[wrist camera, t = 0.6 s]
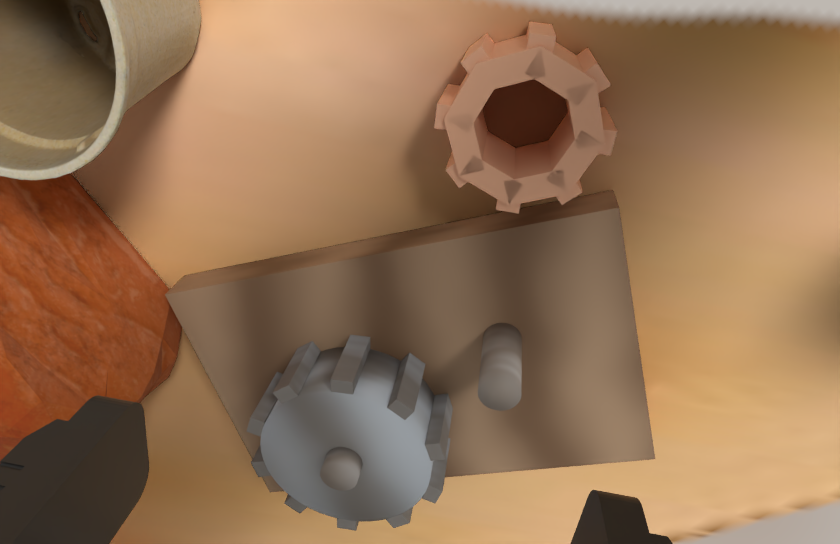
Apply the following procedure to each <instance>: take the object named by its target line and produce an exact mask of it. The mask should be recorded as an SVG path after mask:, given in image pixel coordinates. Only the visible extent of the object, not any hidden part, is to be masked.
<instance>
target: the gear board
mask: <svg viewBox="0 0 840 544" xmlns="http://www.w3.org/2000/svg"><path fill="white" fill-rule="evenodd" d="M165 296H166V298H167V300H168V302H169V303H170V305H171V307H172V309H173V311H174V313H175V315H176V317H177V318H178V320H179V322H180V324H181V326H182V328H183V330H184V332H185V333H186V335H187V337H188V339H189V341H190V343H191V345H192V347H193V349H194V350H195V352H196V354H197V356H198V358H199V360H200V362H201V364H202V365H203V367H204V369H205V371H206V373H207V375H208V377H209V379H210V380H211V382H212V384H213V386H214V388H215V390H216V392H217V394H218V395H219V397H220V399H221V401H222V403H223V405H224V407H225V409H226V410H227V412H228V414H229V416H230V418H231V420H232V422H233V424H234V426H235V427H236V429H237V431H238V433H239V435H240V437H241V439H242V441H243V442H244V444H245V446H246V448H247V450H248V452H249V454H250V456H251V457H252V461H251V464H252V466H253V468H254V469H255V471H256V473H257V475H258V477H262V478H263V480H264V482H265V484H266V486H267V487H268V489H269V491H270V492H278V491H285V492H286V493H288V496H287V498H286V500H285V503H284V504H286V505H288V506H289V507H291V508H292V509H294V510H295V511H297V512H298V513H301V512H302V511H303V510H305V509H306V508H307V507H309V508H310V509H313V510H315V511H317V512H319V513H322V514H325V515H328V516H331V517H335V518H337V528H343V529H349V530H356V529H357V526H358V522H359V521H376V520H383V519H386V520H387V521H388V522H389V523H390V525H391V526H392V527H393V528H396V527H399V526H402V525H405V524H408V523H410V519H411V514H412V509H413V506H414V505H415V504H416V503H417V502H418V501H419V500H420V499H421V498H422V499H425V500H428V501H430V502H433V503H436V501H437V500H438V498H439V496H440V494H441V493H442V491H443V485H444V478H445V477H453V476H464V475H476V474H487V473H499V472H511V471H522V470H534V469H546V468H557V467H569V466H581V465H592V464H604V463H616V462H627V461H639V460H650V459H655V454H654V447H653V440H652V433H651V427H650V420H649V413H648V406H647V399H646V392H645V385H644V378H643V371H642V364H641V357H640V350H639V343H638V336H637V329H636V322H635V315H634V308H633V301H632V294H631V287H630V280H629V273H628V266H627V259H626V252H625V245H624V238H623V231H622V224H621V218H620V211H619V206H618V203H617V200H616V198H615V195H614V192H613V190H610V191H605V192H600V193H595V194H590V195H585V196H580V197H575V198H573V199H571V200H569V201H568V202H566V203H565V204H563V205H561V203H560V202H559V201H555V202H550V203H545V204H540V205H535V206H530V207H525V208H520V210H519V214H518V213H512V212H506V211H505V212H500V213H495V214H490V215H485V216H480V217H475V218H470V219H465V220H460V221H455V222H450V223H445V224H440V225H435V226H430V227H425V228H420V229H415V230H410V231H405V232H400V233H395V234H390V235H385V236H380V237H375V238H370V239H365V240H360V241H355V242H350V243H345V244H340V245H335V246H330V247H325V248H320V249H315V250H310V251H305V252H300V253H295V254H290V255H285V256H280V257H275V258H270V259H265V260H260V261H255V262H250V263H245V264H240V265H235V266H230V267H225V268H220V269H215V270H210V271H205V272H200V273H195V274H190V275H185V276H183V277H182V278H181V279H180V280H179V281H178V282H177V283H176V284H175V285H174V286H173V287H172V288H171V289H170V290H169V291H168V292H167V293H166V294H165Z"/></svg>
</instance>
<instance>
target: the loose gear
mask: <svg viewBox="0 0 840 544" xmlns="http://www.w3.org/2000/svg"><path fill="white" fill-rule="evenodd" d="M555 41H556V34H555V31H554V29H553V26H552V24H546V23H539V22H531V21H529V24H528V29H527V34H526V35H522V36H519V37H515V38H512V39H508V40H504V41H501V42H497V43H494V42H493V41H492V39H491V38H490V36H489V35H488V33H486V34H485V35H484V36H483V37H481V38H480V39H479V40H477V41H476V42H475V43H474V44H472V45H471V46H470V47H469V48H468V50H467V52H466V53H465V55H464V57H463V59H462V61H461V64H462V66H463V67H464V68H465V70H466V71H467V75H466V76H465V78H464V80H463V82H462V83H461V85H460V86H459V85H453V84H448V85H447V87H446V88H445V90H444V92H443V94H442V96H441V98H440V99H439V101H438V103H437V108H436V116H435V124H434V128H436V129H442V130H447V134H448V137H449V141H450V145H451V149H452V152H451V155H450V158H449V161H448V164H447V167H446V172H447V173H448V174H449V176H450V177H451V178H452V179H453V181H454V182H455V183H456V185H457V186H458V187H459V188H461V187H462V186H463V185H465V184H466V183H468V182H469V183H471V184H472V185H474V186H476V187H478V188H479V189H481V190H483V191H484V192H486V193H488V194H489V195H491V196H493V197H494V198H496V199H497V203H496V210H500V211H506V212H512V213H518V214H519V210H520V205H521V203H526V202H531V201H536V200H541V199H546V198H551V197H556V198H557V199H558V200H559V202H560V203H561V205H563V204H565V203H566V202H568V201H569V200H571V199H573V198H574V197H576V196H578V195H579V194H581V193H582V192H583V191H582V187H581V183H580V177H581V176H582V175H583V173H584V172H585V171H586V169H587V168H588V167H589V165H590V164H591V163H592V161H593V160H594V159H595V157H596V156H597V155H598V154H602V155H608V156H611V153H612V149H613V146H614V142H615V139H616V135H617V132H618V131H617V129H616V127H615V125H614V123H613V121H612V119H611V117H610V115H609V113H608V111H607V109H606V108H605V107H600V103H599V96H598V94H599V93H600V92H602V91H603V90H605V89H606V88H608V87H609V86H610V85H611V84H610V82H609V81H608V79H607V77H606V76H605V74H604V72H603V71H602V69H601V68H600V66H599V64H598V63H597V61H596V60H595V58H594V56H593V55H592V53H591V52H590V50H589V49H588V47H587V48H586V49H584V50H583V51H582V52H580V53H579V54H578V55H575V54H574V53H572V52H571V51H569V50H568V49H566V48H564V47H563V46H561V45H560V44H558V43H557V42H555ZM533 79H535V80H537V81H538V82H540V83H541V84H543V85H545V86H546V87H548V88H549V89H551V90H553V91H554V92H556V93H557V94H559V95H561V96H562V97H564V98H565V99H566V103H567V109H568V113H567V114H566V116H565V117H564V119H563V120H562V122H561V123H560V124H559V126H558V127H557V129H556V130H555V132H554V133H553V134H552V136H551V137H550V139H549V140H548V141H544V142H540V143H535V144H531V145H526V146H522V147H517V148H515V147H513V146H511V145H510V144H508V143H506V142H505V141H503V140H502V139H500V138H498V137H497V136H495V135H493V134H492V133H490V132H488V130H487V126H486V121H485V117H484V113H483V109H482V108H483V107H484V105H485V103H486V102H487V100H488V98H489V97H490V95H491V94H492V92H493V90H494V89H497V88H501V87H505V86H509V85H513V84H517V83H521V82H525V81H529V80H533Z"/></svg>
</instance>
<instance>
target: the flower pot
mask: <svg viewBox="0 0 840 544" xmlns="http://www.w3.org/2000/svg"><path fill="white" fill-rule="evenodd" d="M80 11H81V12H82V13H83V16H84V17H85V19H86V21H87V23H88V24H89V26H90V28H91V30H92V32H93V33H94V35H95V36H96V37H97V41H94V40H93V39H92V38H91V37H89V36H88V35H87V33H86V32H85V30H84V28H83V27H82V25H81V23H80V19H79V12H80ZM200 25H201V10H200V5H199V0H0V176H2V177H3V176H4V177H8V178H13V179H19V180H45V179H51V178H58V177H60V176H63V175H66V174H69V173H71V172H73V171H76V170H78V169H79V168H81V167H83V166H85V165H86V164H88V163H89V162H91V161H92V160H94V159H95V158H96V157H97V156H98V155H99V154H100V153H101V152H102V151H103V150H104V149H105V148H106V147H107V145H108V144H109V143H110V142H111V140H112V138H113V137H114V135H115V134H116V132H117V130H118V128H119V126H120V123H121V121H122V118H123V116H124V114H125V112H126V111H127V110H128V109H129V108H131V107H132V106H133V105H135V104H136V103H137V102H139V101H140V100H141V99H142V98H144V97H145V96H146V95H148V94H149V93H150V92H152V91H153V90H154V89H155V88H157V87H158V86H159V85H161V84H162V83H163V82H165V81H166V80H168V79H169V78H170V77H172V76H173V75H175V74H176V73H178V72H179V71H180V70H181V69H183V68H184V67H185V66H186V64H187V63H188V62H189V61H190V59H191V58H192V56H193V54H194V50H195V47H196V43H197V39H198V35H199V31H200Z"/></svg>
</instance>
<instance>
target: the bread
mask: <svg viewBox="0 0 840 544" xmlns="http://www.w3.org/2000/svg"><path fill="white" fill-rule="evenodd" d="M168 291H169V289H168V288H167V286H166V285H165V284H164V283H163V282H162V280H161V279H160V278H159V277H158V276H157V274H156V273H155V272H154V271H153V270H152V269H151V267H150V266H149V265H148V264H147V263H146V261H145V260H144V259H143V258H142V257H141V256H140V254H139V253H138V252H137V251H136V250H135V249H134V247H133V246H132V245H131V244H130V243H129V241H128V240H127V239H126V238H125V237H124V236H123V234H122V233H121V232H120V231H119V230H118V229H117V227H116V226H115V225H114V224H113V223H112V222H111V220H110V219H109V218H108V217H107V216H106V215H105V213H104V212H103V211H102V210H101V209H100V208H99V206H98V205H97V204H96V203H95V202H94V201H93V199H92V198H91V197H90V196H89V195H88V194H87V192H86V191H85V190H84V189H83V188H82V187H81V185H80V184H79V183H78V182H77V181H76V180H75V178H74V177H73V176H72V175H70V174H66V175H63V176H60V177H58V178H51V179H45V180H19V179H13V178H8V177H4V176H3V177H2V176H0V461H1V460H2V459H3V458H4V457H5V456H6V455H7V454H8V453H9V452H10V451H11V450H12V449H13V448H14V447H15V446H16V445H17V444H18V443H19V442H20V441H21V440H22V439H23V438H24V437H26V436H28V435H29V434H31V433H33V432H35V431H36V430H38V429H40V428H42V427H44V426H45V425H47V424H49V423H51V422H52V421H54V420H56V419H60V420H65V421H69V420H70V419H71V417H72V416H73V415H74V414H75V413H76V412H77V411H78V410H79V409H80V408H81V407H82V406H83V405H84V404H85V403H86V402H87V401H88V400H89V399H90V398H92V397H94V396H97V395H100V396H105V397H110V398H116V399H121V400H126V401H132V402H137V403H141V401H142V400H143V399H144V397H146V396H147V395H148V394H149V393H150V392H151V391H153V390H154V389H155V388H156V387H157V386H158V385H160V384H161V383H162V382H163V381H164V380H166V379H167V378H168V377H169V375H170V373H171V371H172V368H173V366H174V363H175V361H176V359H177V355H178V348H179V341H180V335H181V328H182V326H181V324H180V322H179V320H178V318H177V317H176V315H175V313H174V311H173V309H172V307H171V305H170V303H169V302H168V300H167V298H166V296H165V294H166V293H167V292H168Z"/></svg>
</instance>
